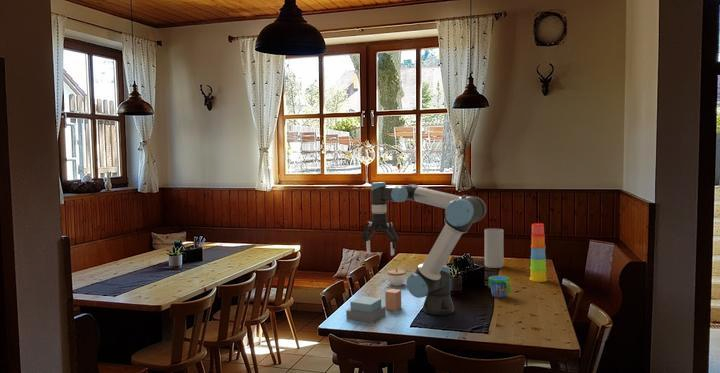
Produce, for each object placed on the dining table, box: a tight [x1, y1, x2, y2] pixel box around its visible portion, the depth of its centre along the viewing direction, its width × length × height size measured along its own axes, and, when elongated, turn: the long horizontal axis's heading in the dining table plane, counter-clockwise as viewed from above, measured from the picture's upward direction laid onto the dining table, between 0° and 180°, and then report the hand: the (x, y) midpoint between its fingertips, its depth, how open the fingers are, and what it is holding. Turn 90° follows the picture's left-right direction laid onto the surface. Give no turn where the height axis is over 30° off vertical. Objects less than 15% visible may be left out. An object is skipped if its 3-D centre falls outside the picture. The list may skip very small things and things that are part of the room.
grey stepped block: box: [345, 295, 387, 324], centre depth 257 cm, size 14×14×8 cm
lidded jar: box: [387, 268, 407, 287], centre depth 317 cm, size 11×11×9 cm
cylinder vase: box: [484, 228, 505, 269], centre depth 360 cm, size 12×12×25 cm
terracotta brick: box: [384, 288, 402, 311], centre depth 270 cm, size 6×6×9 cm
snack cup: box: [487, 275, 511, 298], centre depth 288 cm, size 16×10×10 cm
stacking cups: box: [529, 222, 548, 283], centre depth 321 cm, size 10×10×35 cm
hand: (380, 254), depth 269 cm, fingers open, 13 cm apart
